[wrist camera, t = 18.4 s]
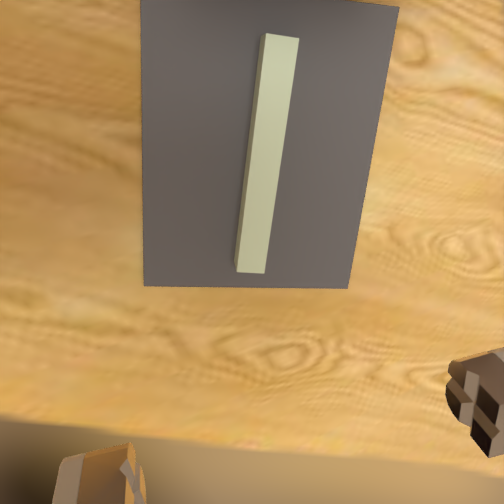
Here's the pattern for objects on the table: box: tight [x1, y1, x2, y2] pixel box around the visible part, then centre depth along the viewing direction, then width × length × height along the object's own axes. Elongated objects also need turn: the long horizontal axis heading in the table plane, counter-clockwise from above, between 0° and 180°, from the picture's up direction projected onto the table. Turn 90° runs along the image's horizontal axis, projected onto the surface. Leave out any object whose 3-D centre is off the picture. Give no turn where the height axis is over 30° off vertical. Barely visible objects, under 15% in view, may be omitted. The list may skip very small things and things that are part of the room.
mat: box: [141, 0, 399, 289], centre depth 45 cm, size 24×30×1 cm
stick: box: [234, 33, 299, 274], centre depth 44 cm, size 3×23×3 cm, turn 173°
